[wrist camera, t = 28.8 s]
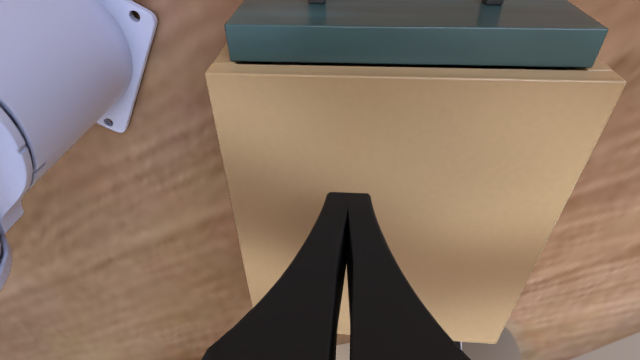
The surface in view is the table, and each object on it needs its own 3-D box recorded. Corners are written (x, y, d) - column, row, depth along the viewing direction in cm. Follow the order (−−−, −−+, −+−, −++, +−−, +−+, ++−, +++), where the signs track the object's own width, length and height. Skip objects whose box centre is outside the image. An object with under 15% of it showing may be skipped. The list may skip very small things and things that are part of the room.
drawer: (251, -170, 15) (189, -186, 9) (575, -178, 14) (708, -199, 9) (285, 202, 26) (266, 289, 21) (463, 209, 25) (491, 302, 20)
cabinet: (258, -3, 19) (203, 73, 12) (530, -1, 18) (628, 81, 12) (280, 217, 28) (256, 329, 22) (463, 225, 27) (496, 344, 21)
